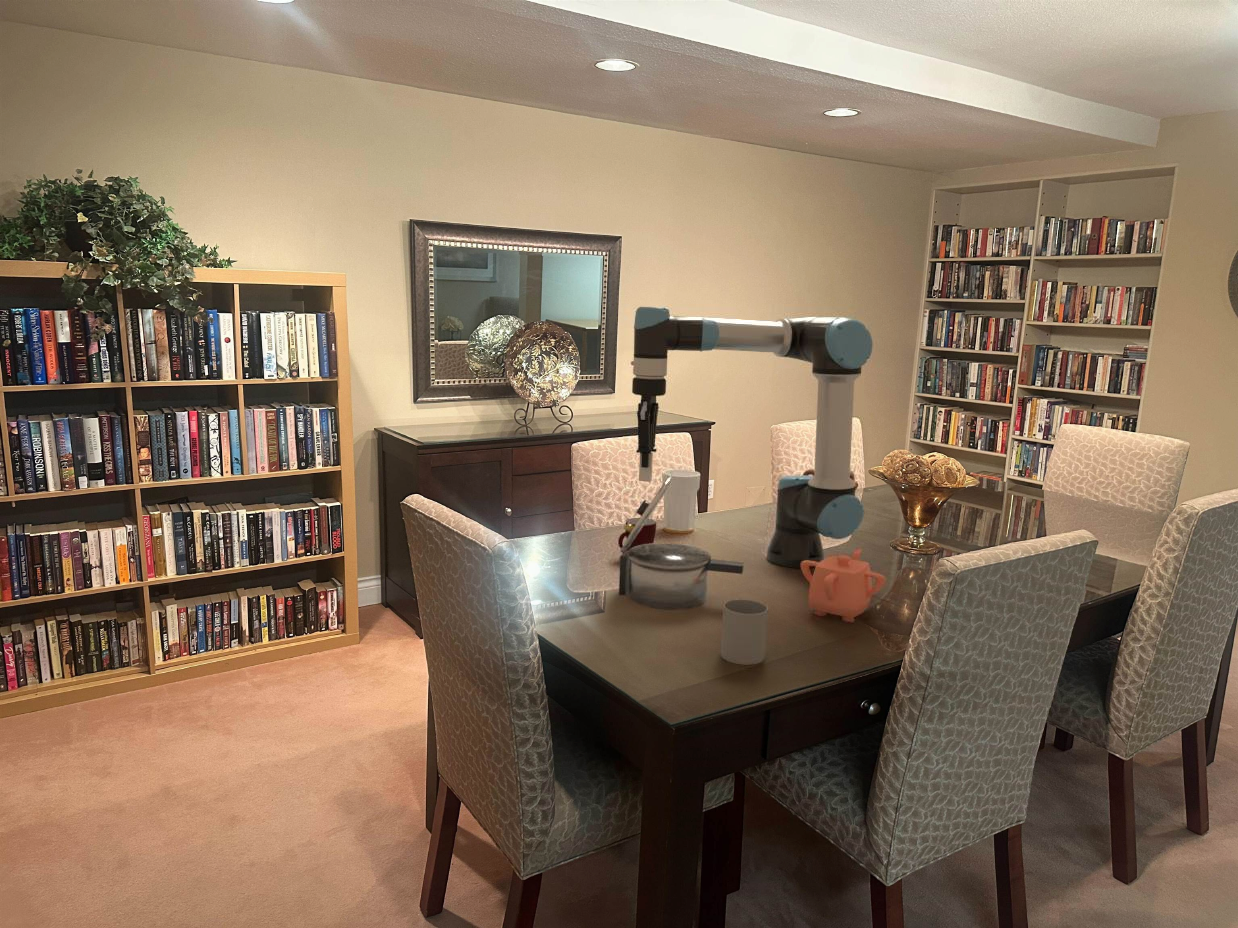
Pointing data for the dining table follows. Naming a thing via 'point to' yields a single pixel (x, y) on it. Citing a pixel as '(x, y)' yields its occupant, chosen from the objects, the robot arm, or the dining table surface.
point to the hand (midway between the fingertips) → (645, 480)
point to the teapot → (841, 585)
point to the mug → (640, 533)
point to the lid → (645, 514)
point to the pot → (669, 574)
